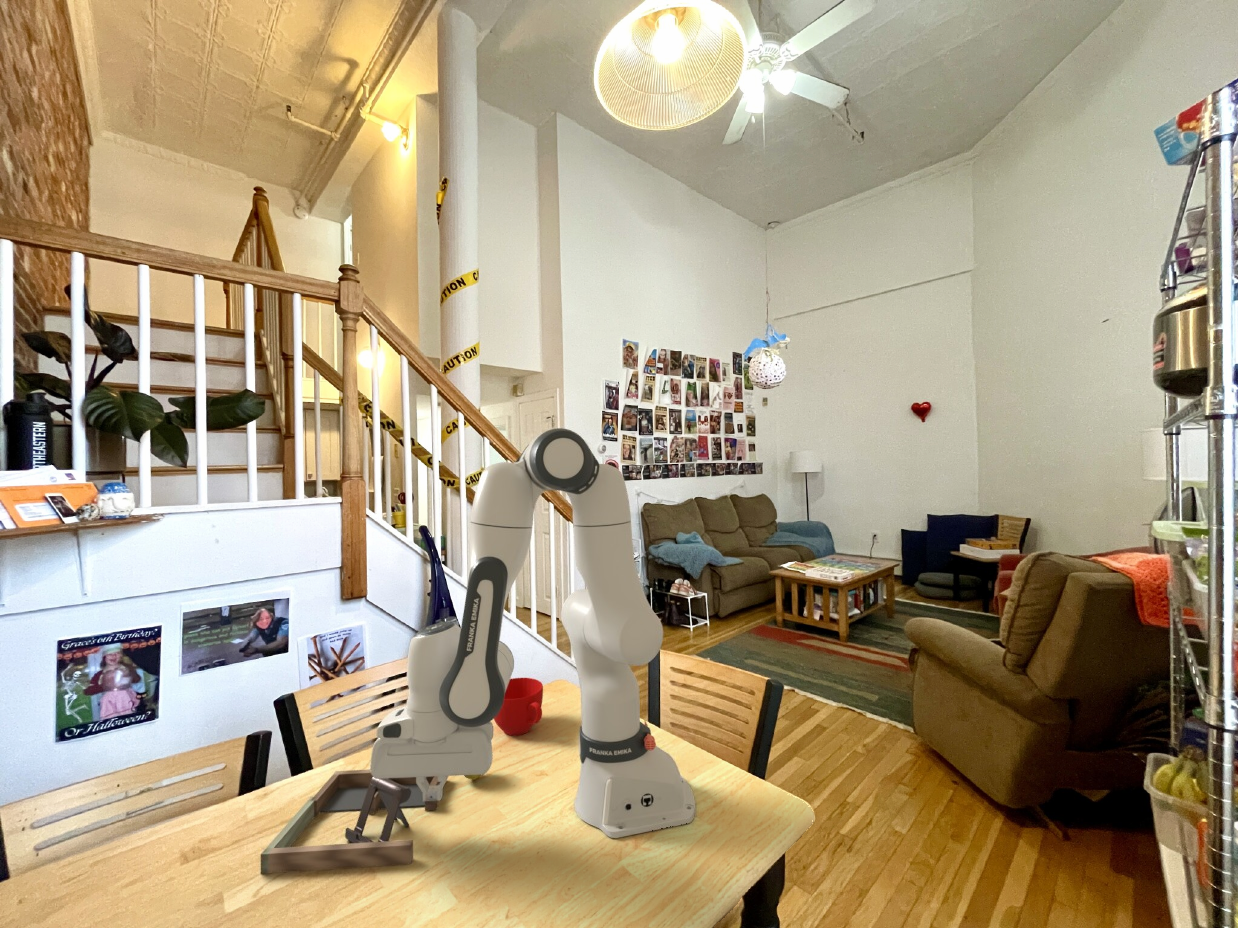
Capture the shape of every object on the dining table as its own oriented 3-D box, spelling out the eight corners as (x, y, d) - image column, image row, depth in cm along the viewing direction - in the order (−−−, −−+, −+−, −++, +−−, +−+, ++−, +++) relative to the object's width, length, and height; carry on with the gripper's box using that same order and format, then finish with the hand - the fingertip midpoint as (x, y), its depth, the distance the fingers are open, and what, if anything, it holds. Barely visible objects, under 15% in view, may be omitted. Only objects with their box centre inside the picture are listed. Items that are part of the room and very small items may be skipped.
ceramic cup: (516, 755, 112) (515, 710, 113) (480, 728, 125) (479, 687, 125) (563, 734, 121) (562, 692, 121) (525, 711, 134) (525, 673, 134)
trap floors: (438, 783, 102) (438, 782, 102) (426, 806, 95) (426, 804, 95) (339, 789, 101) (339, 787, 101) (320, 812, 94) (320, 810, 94)
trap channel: (449, 779, 104) (449, 765, 104) (410, 863, 81) (410, 844, 81) (333, 786, 102) (333, 771, 102) (260, 873, 80) (260, 854, 80)
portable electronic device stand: (344, 841, 87) (343, 792, 87) (385, 814, 94) (385, 768, 94) (376, 860, 82) (375, 807, 82) (417, 830, 89) (416, 782, 89)
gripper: (496, 708, 93) (496, 785, 92) (381, 712, 91) (380, 790, 91) (490, 724, 86) (489, 807, 86) (366, 728, 85) (365, 813, 84)
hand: (432, 798), depth 88 cm, fingers closed
